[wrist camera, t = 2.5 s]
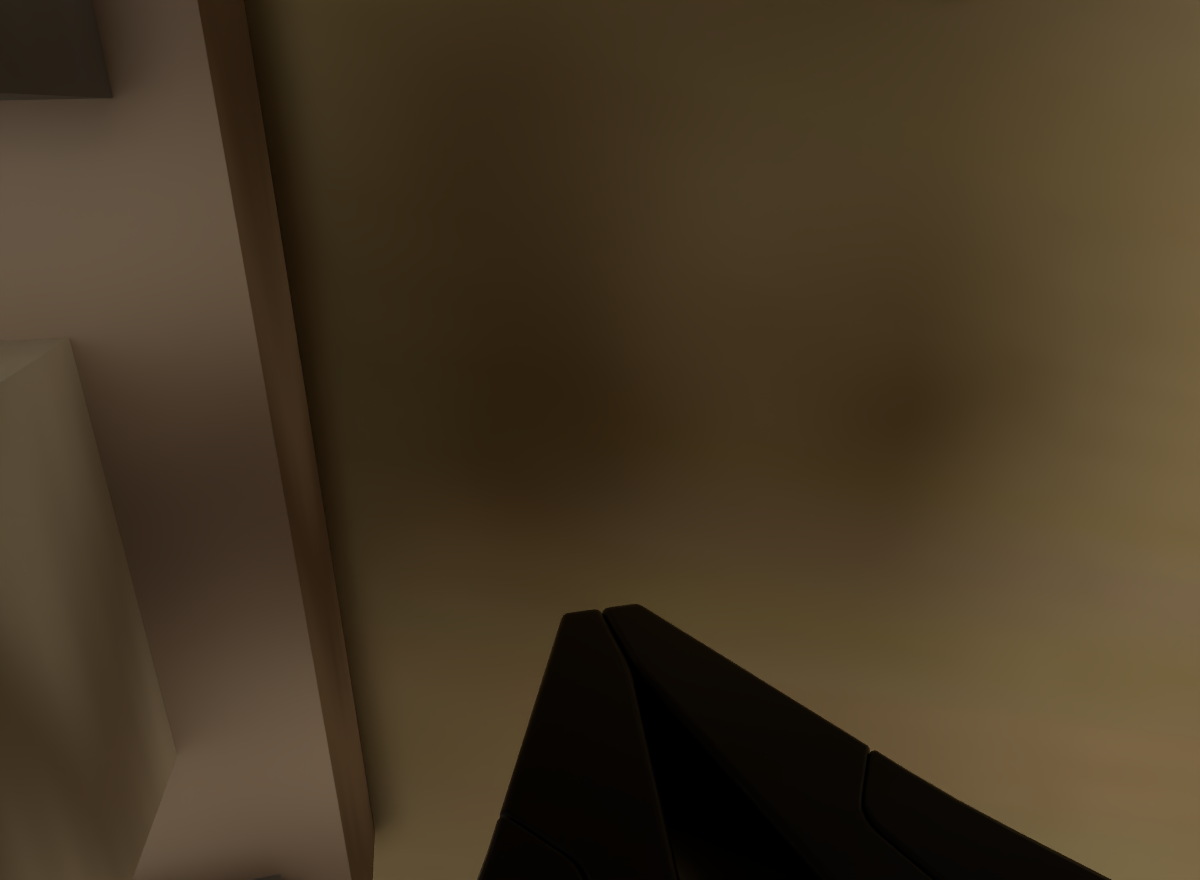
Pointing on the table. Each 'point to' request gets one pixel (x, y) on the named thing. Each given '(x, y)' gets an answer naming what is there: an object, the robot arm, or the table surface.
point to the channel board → (189, 413)
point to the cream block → (68, 642)
